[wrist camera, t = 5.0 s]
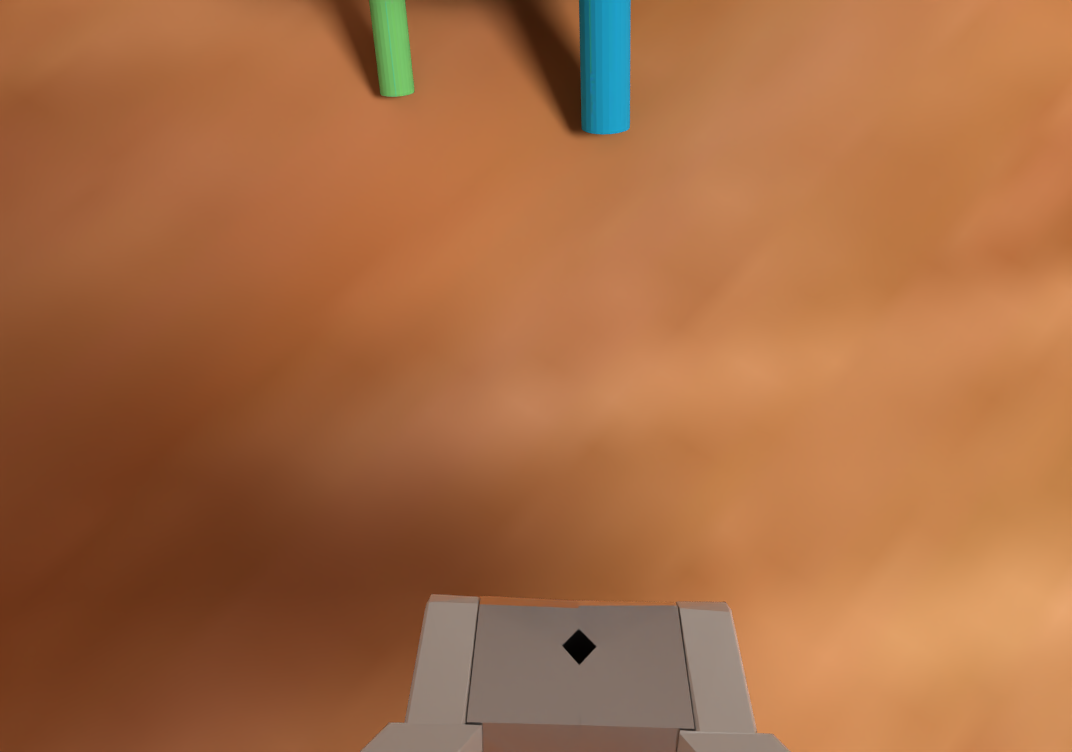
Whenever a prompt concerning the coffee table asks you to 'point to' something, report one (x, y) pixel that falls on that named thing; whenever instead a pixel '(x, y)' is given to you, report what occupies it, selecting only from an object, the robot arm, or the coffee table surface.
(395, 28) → the gear
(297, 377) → the coffee table surface
